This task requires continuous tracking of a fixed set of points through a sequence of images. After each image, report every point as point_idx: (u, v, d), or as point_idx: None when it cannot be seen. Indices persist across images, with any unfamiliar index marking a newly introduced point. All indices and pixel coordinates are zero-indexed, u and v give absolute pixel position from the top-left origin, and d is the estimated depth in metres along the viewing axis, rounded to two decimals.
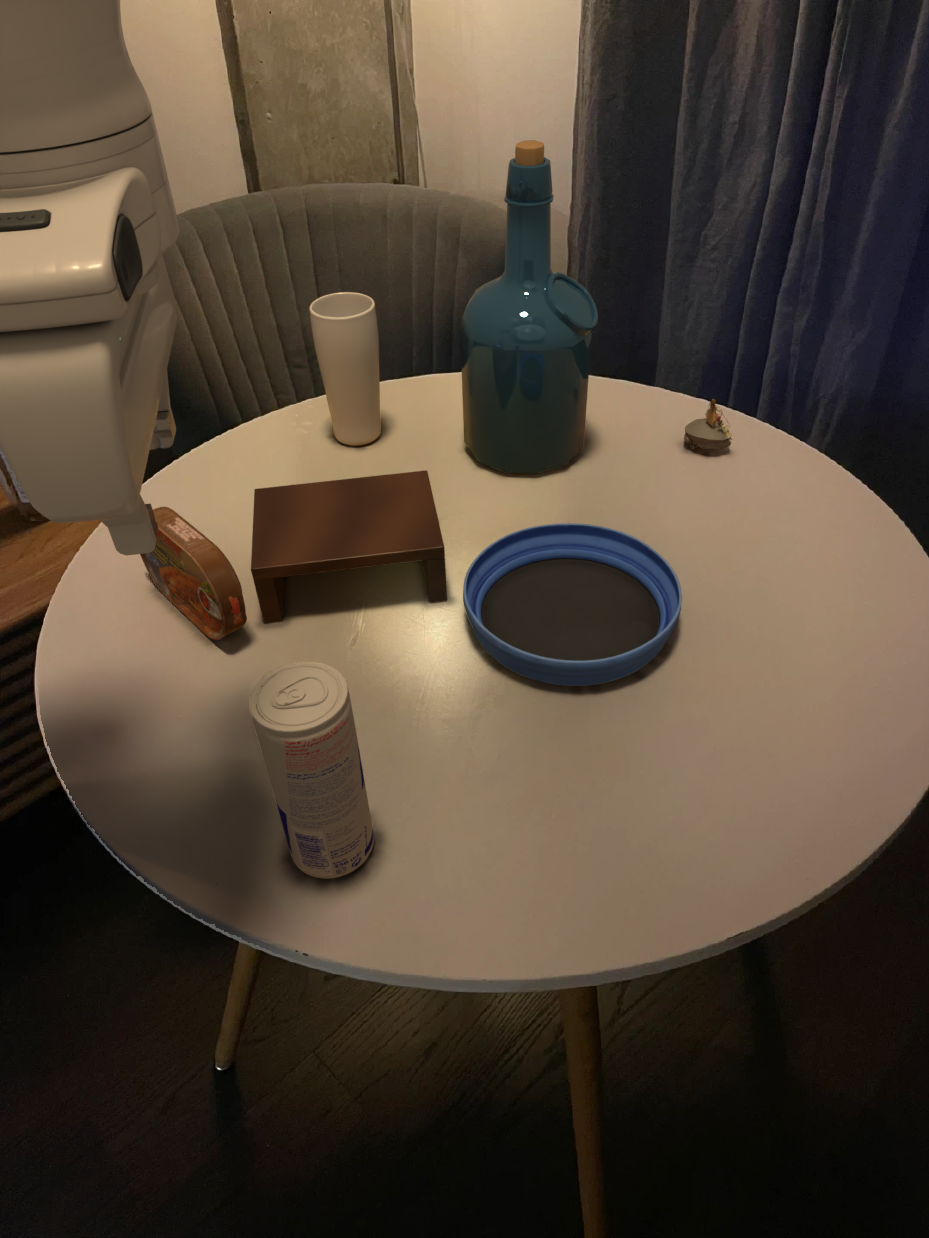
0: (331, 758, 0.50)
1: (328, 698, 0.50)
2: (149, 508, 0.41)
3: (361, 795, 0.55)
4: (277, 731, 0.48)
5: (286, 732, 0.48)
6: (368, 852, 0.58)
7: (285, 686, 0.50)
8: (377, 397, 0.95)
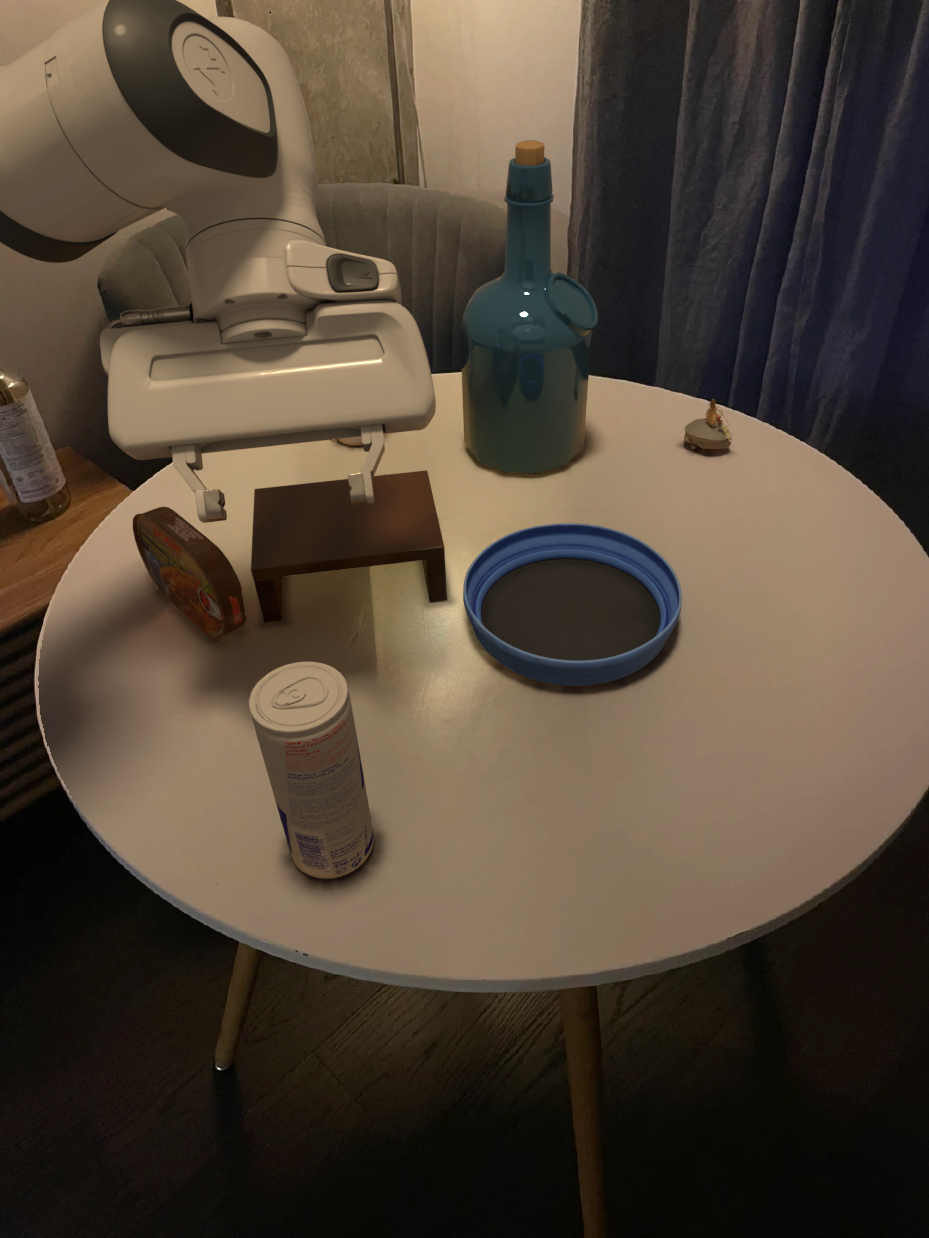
0: (331, 758, 0.50)
1: (328, 698, 0.49)
2: None
3: (361, 795, 0.55)
4: (277, 732, 0.48)
5: (286, 732, 0.48)
6: (368, 852, 0.58)
7: (285, 686, 0.50)
8: None
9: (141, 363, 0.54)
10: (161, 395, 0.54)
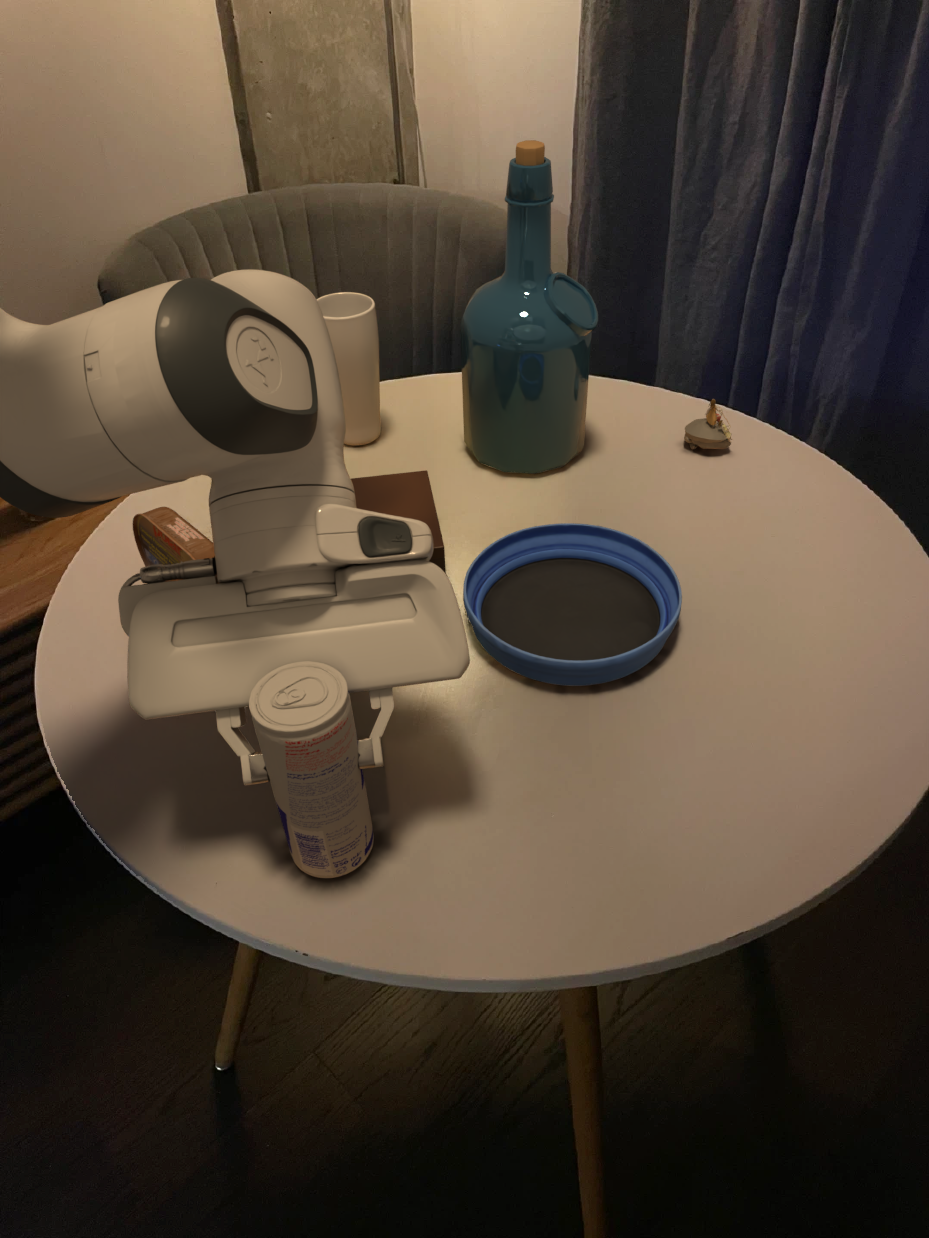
0: (331, 757, 0.50)
1: (328, 698, 0.50)
2: (363, 738, 0.55)
3: (361, 795, 0.55)
4: (277, 731, 0.48)
5: (286, 732, 0.48)
6: (368, 852, 0.58)
7: (285, 686, 0.50)
8: (377, 397, 0.95)
9: (162, 629, 0.52)
10: (184, 662, 0.52)
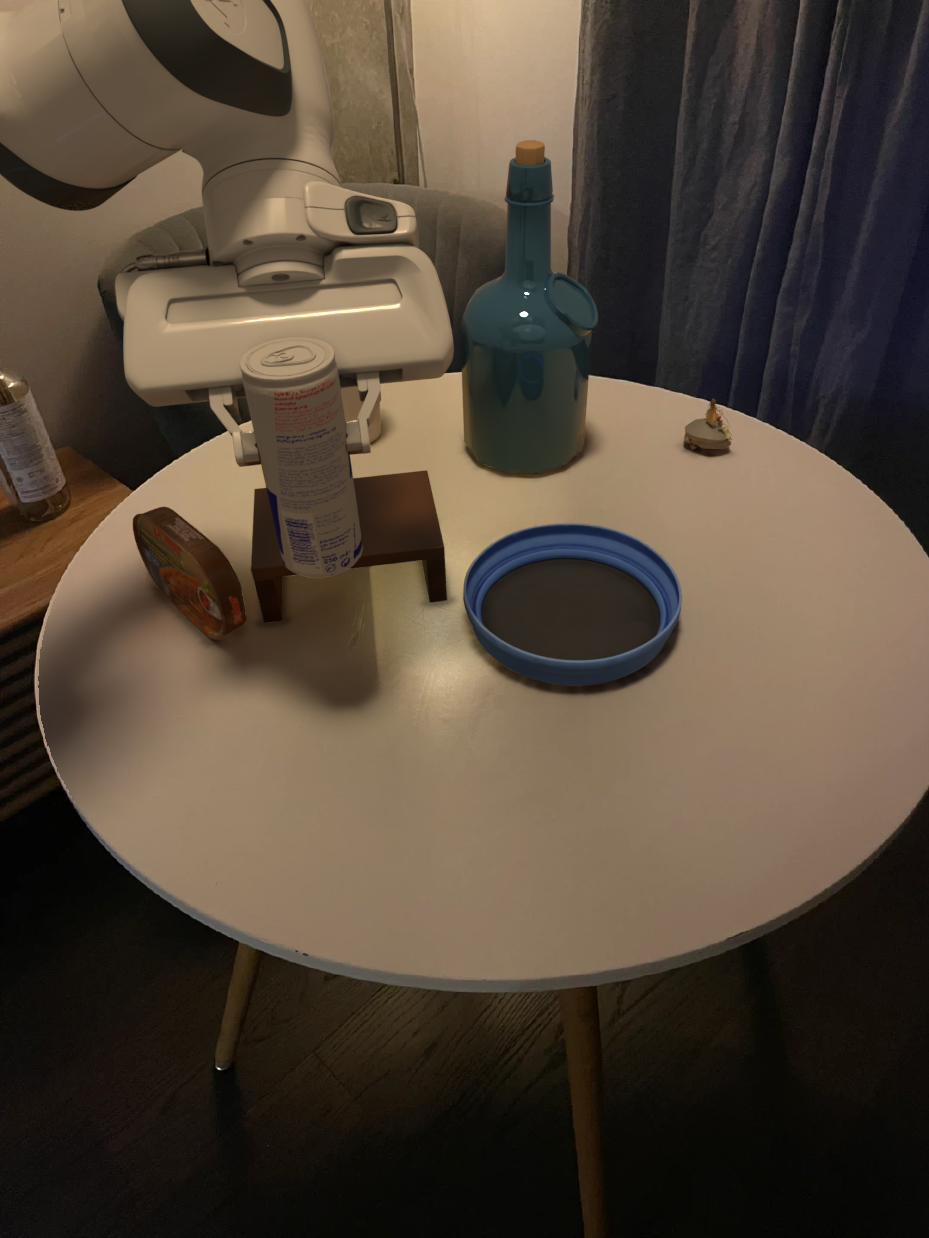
0: (319, 419, 0.52)
1: (315, 359, 0.51)
2: None
3: (349, 483, 0.57)
4: (266, 380, 0.50)
5: (275, 381, 0.50)
6: (357, 557, 0.60)
7: None
8: None
9: (157, 306, 0.54)
10: (178, 337, 0.54)
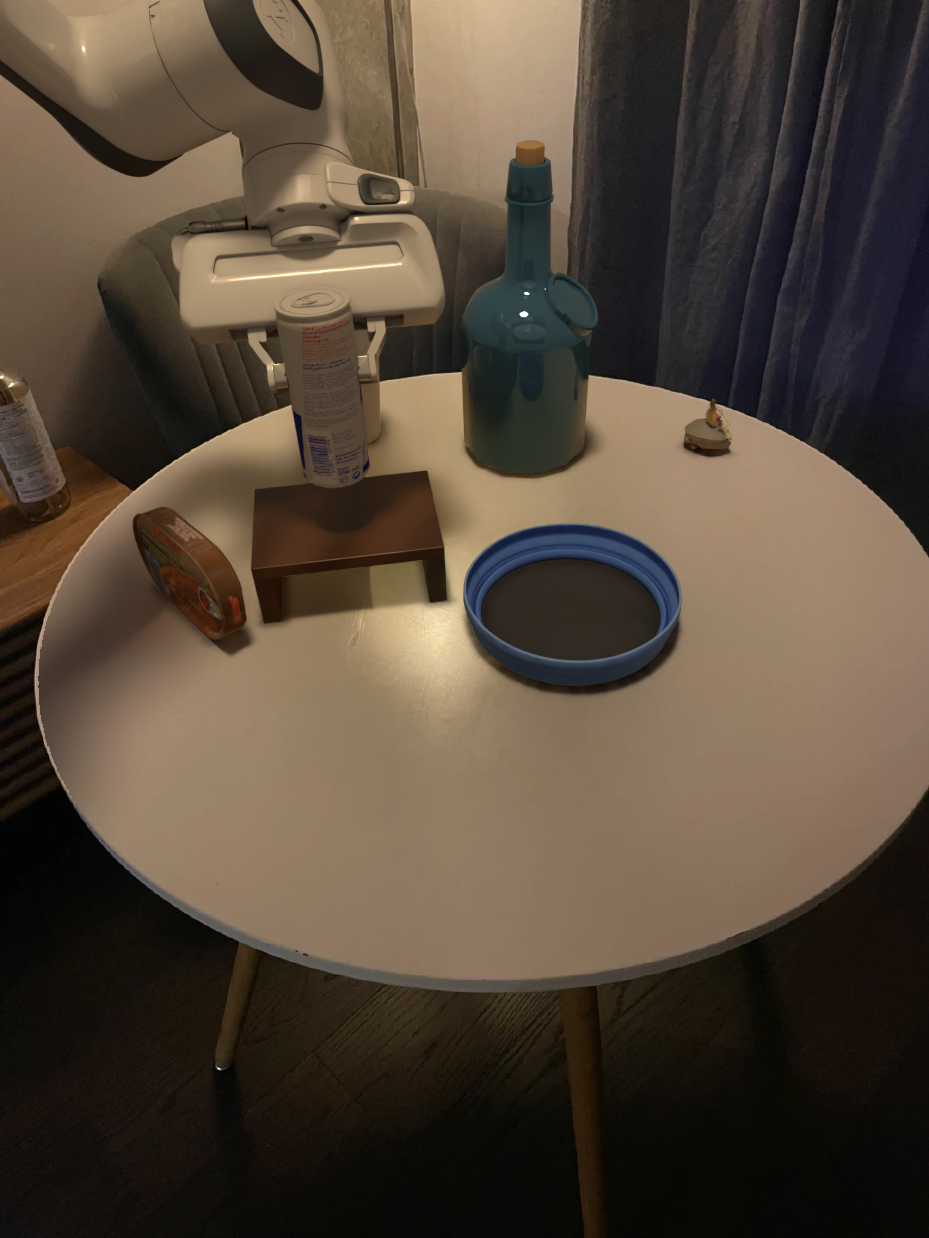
0: (337, 351, 0.65)
1: (334, 302, 0.65)
2: None
3: (359, 407, 0.70)
4: (296, 318, 0.63)
5: (303, 318, 0.63)
6: (365, 472, 0.73)
7: None
8: (377, 397, 0.95)
9: (206, 261, 0.67)
10: (223, 287, 0.67)
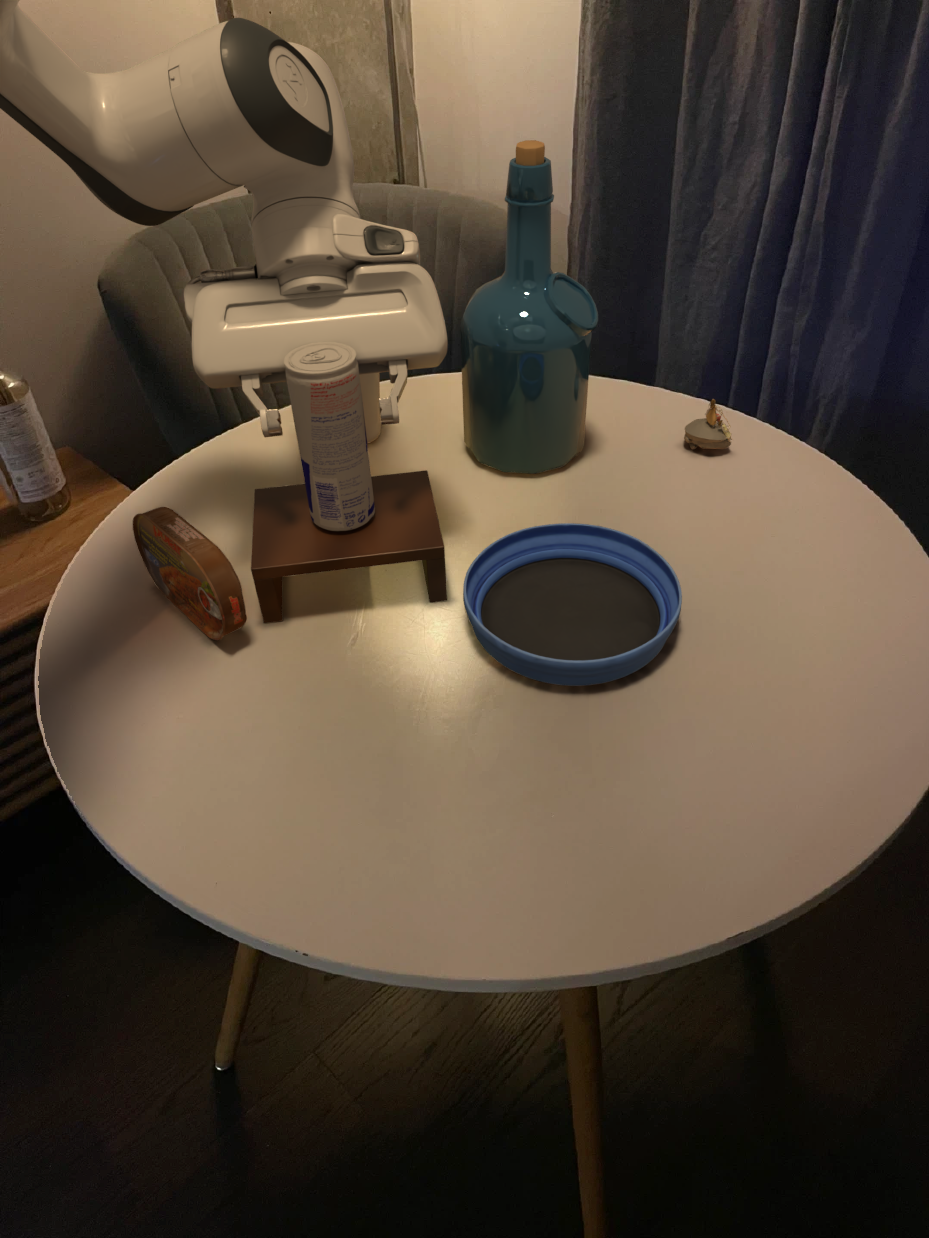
0: (344, 405, 0.68)
1: (342, 358, 0.68)
2: None
3: (365, 456, 0.73)
4: (305, 374, 0.66)
5: (311, 375, 0.66)
6: (370, 515, 0.76)
7: (310, 353, 0.68)
8: (377, 397, 0.95)
9: (218, 310, 0.69)
10: (234, 334, 0.69)
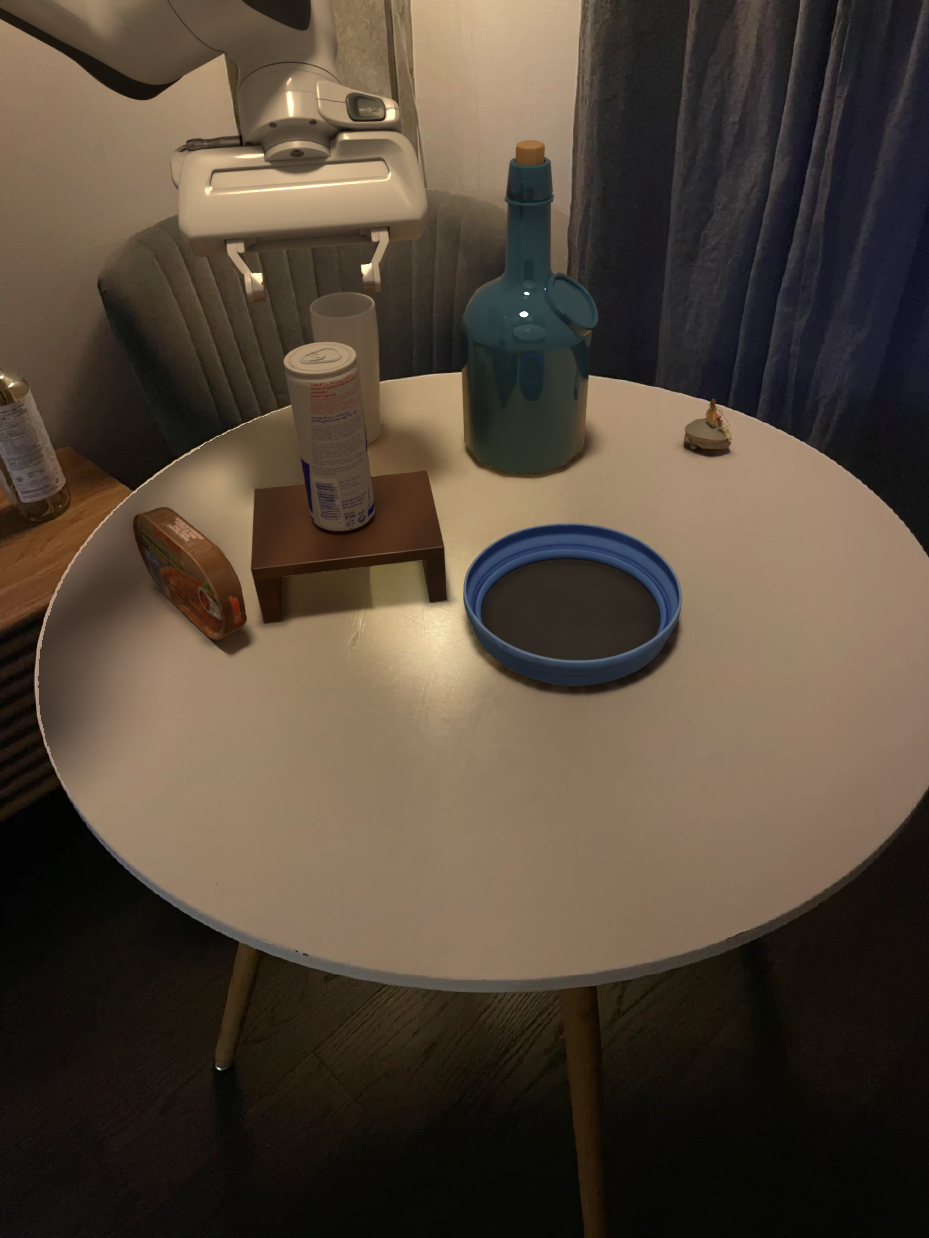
0: (344, 405, 0.68)
1: (342, 358, 0.68)
2: None
3: (365, 456, 0.73)
4: (305, 374, 0.66)
5: (311, 375, 0.66)
6: (370, 515, 0.76)
7: (310, 353, 0.68)
8: (377, 397, 0.95)
9: (203, 174, 0.71)
10: (219, 199, 0.71)
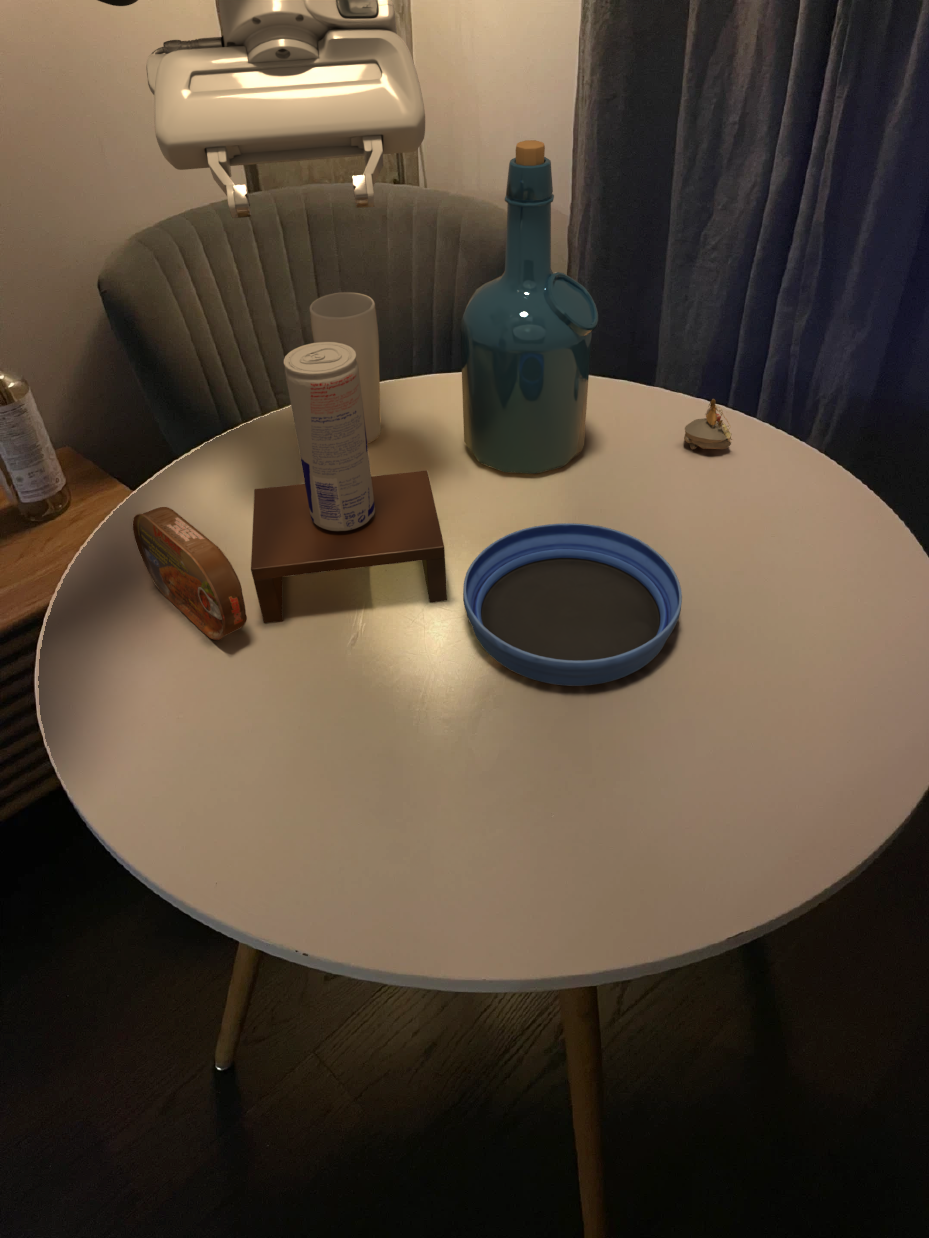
0: (344, 405, 0.68)
1: (341, 359, 0.68)
2: None
3: (365, 455, 0.73)
4: (305, 374, 0.66)
5: (311, 375, 0.66)
6: (370, 515, 0.76)
7: None
8: (377, 397, 0.95)
9: (182, 77, 0.65)
10: (199, 103, 0.65)
